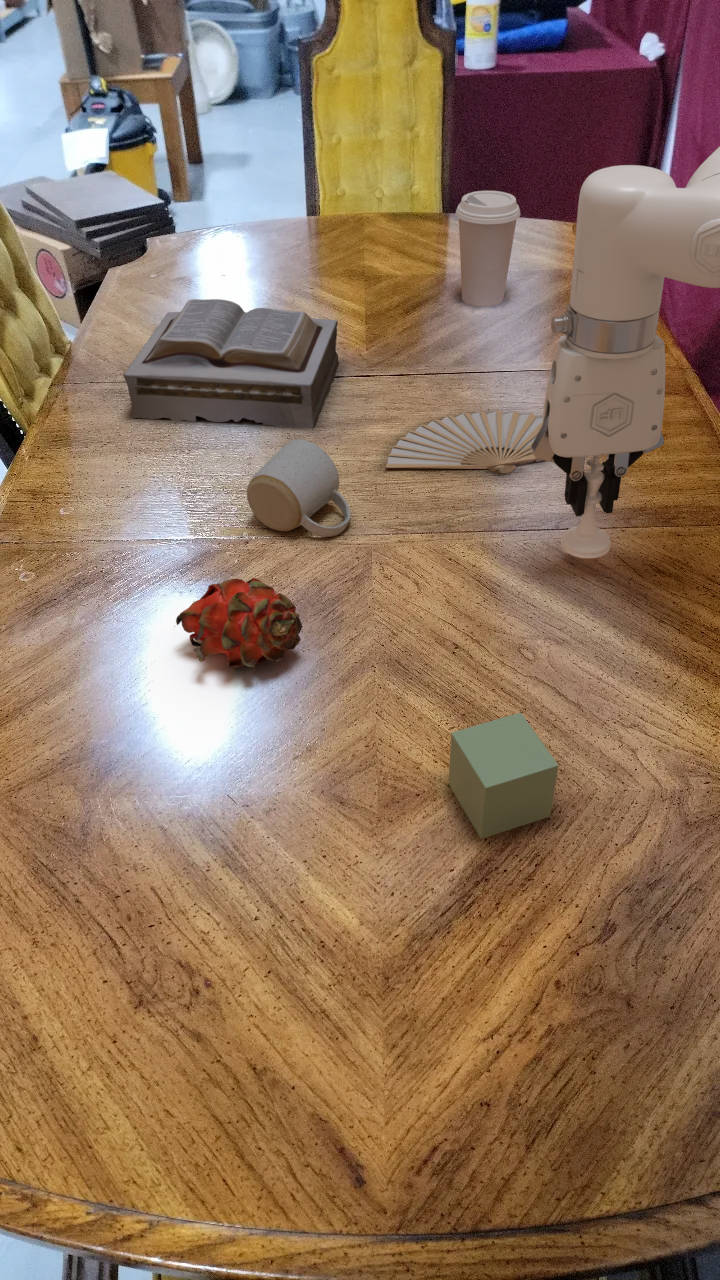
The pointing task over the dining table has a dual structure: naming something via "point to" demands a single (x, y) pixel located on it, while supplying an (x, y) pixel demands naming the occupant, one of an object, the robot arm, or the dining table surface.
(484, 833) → the block
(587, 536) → the chess piece
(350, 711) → the dining table surface
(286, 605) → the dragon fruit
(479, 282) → the coffee cup
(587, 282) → the robot arm
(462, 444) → the hand fan
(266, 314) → the bible
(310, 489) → the ceramic mug
